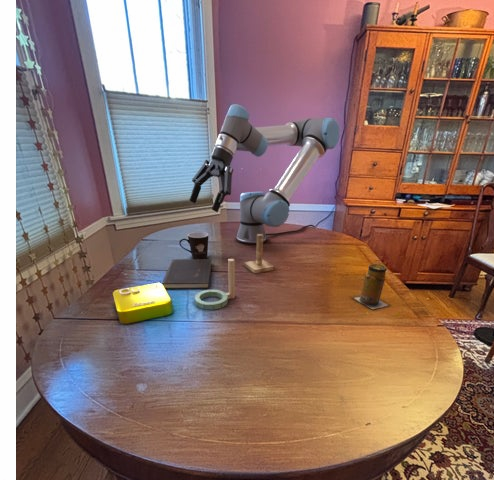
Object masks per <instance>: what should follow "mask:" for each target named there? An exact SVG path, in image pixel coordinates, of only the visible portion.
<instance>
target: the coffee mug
mask: <svg viewBox="0 0 494 480" xmlns="http://www.w3.org/2000/svg"><path fill="white" fill-rule="evenodd" d="M209 235H210V234H209V233H208V232H204V231H193V232H189V233H188V234H187V238H181V239H180V240H179V244H178V245H179V246H180V248H182V249H183V250H184V251H187V252H189V253H190V254H191V257H192V259H208V255H209V253H208V252H209ZM183 241H186V242H187V243H188V244H189V248H190V250H189V249H188V248H185V247H184V246H183V245H182V242H183Z"/></svg>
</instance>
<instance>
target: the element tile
mask: <svg viewBox="0 0 494 480" xmlns="http://www.w3.org/2000/svg"><path fill="white" fill-rule="evenodd" d="M112 296H113V301H114V304H115V309H116V313H117V317H118V320H119V322H120V323H121V324H123V325H128V324H129V325H130V324H133V323H139V322H143V321H147V320H152V319H157V318H162V317H166V316H169V315H171V314H172V313H173V311H174V309H173V302H172V301H173V300H172V298H171V296H170V294H169V293H168V291H167V289H165V288H164V286H163V285H162V282H161V283H160V282H155V283H149V284H143V285H138V286H130V287H126V288H125V287H124V288H120V289H115V290H114V291H113V292H112Z"/></svg>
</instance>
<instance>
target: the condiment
mask: <svg viewBox="0 0 494 480" xmlns="http://www.w3.org/2000/svg"><path fill="white" fill-rule="evenodd" d="M386 272H387V267H386V266H385V265H381V264H370V265H369V266H368V269H367V272H366V273H365V276H364V278H363V279H364V280H363V282H362V283H363V284H362V288H361V293H360V296H356V297H353V299H354V300H356V301H357V302H359V303H361V304H362V305H364V306H366V307H367V308H370V309H371V310H375V309H380V308H384V307H388V306H389V304H388V303H385V302H384V301H382V300H381V297H382V292H383V288H384V285H385V281H386V274H387V273H386Z"/></svg>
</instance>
